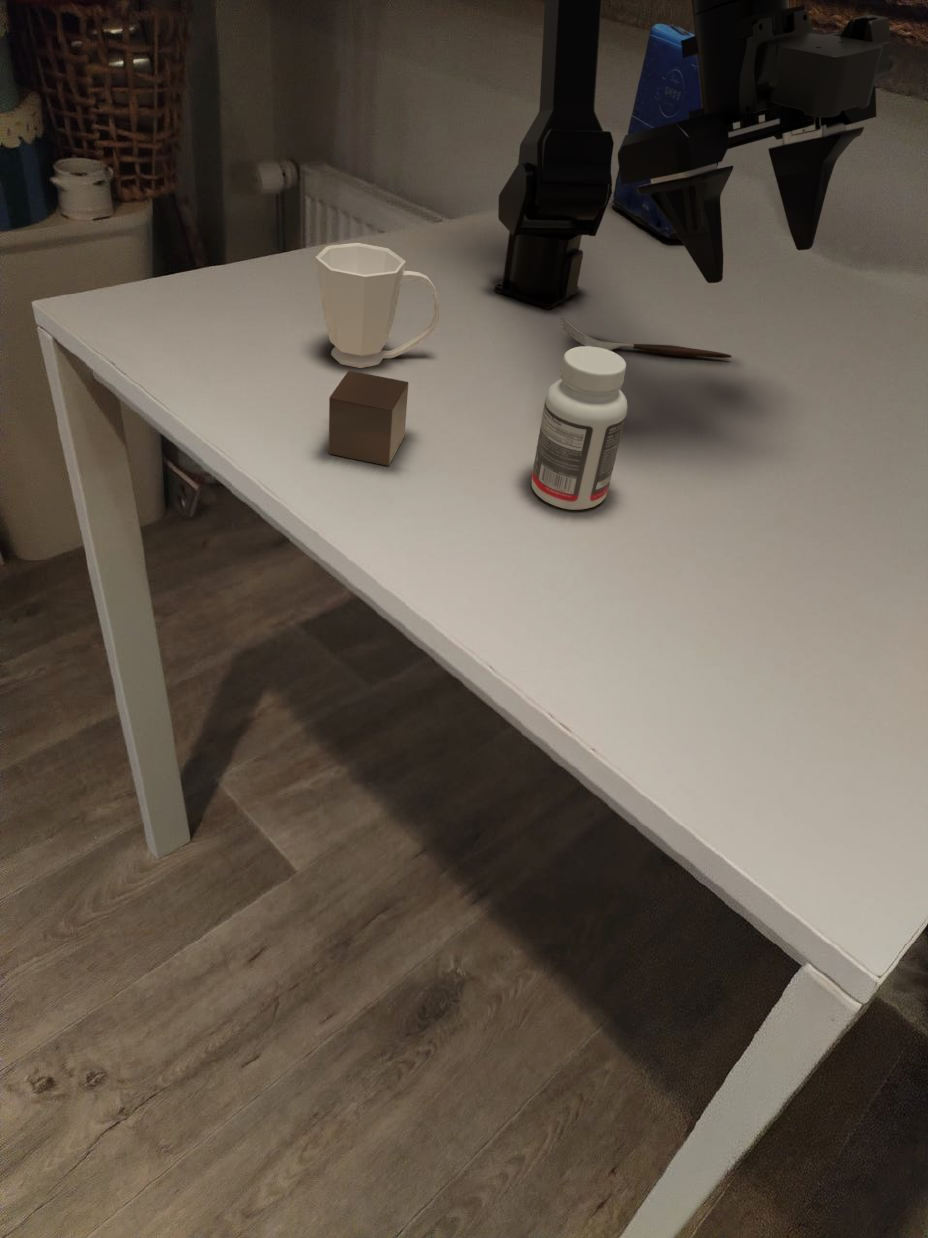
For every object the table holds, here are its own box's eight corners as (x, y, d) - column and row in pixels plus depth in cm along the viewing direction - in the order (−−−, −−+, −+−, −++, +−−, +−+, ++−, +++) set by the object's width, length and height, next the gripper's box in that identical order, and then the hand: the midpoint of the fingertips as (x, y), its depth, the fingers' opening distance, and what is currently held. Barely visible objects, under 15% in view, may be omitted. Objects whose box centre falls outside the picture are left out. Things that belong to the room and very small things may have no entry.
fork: (733, 368, 82) (739, 347, 80) (558, 349, 81) (562, 327, 79) (727, 355, 84) (733, 334, 82) (556, 336, 83) (560, 315, 81)
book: (603, 205, 114) (641, 18, 101) (639, 205, 116) (680, 21, 103) (665, 247, 105) (715, 46, 92) (702, 245, 107) (756, 48, 94)
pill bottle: (585, 466, 66) (614, 338, 60) (619, 507, 62) (653, 376, 56) (517, 473, 64) (540, 342, 58) (548, 516, 61) (575, 382, 54)
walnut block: (328, 454, 63) (328, 397, 61) (347, 424, 67) (348, 369, 64) (388, 466, 63) (392, 409, 60) (404, 436, 66) (408, 381, 64)
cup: (313, 336, 77) (312, 239, 72) (428, 339, 79) (436, 245, 74) (317, 374, 72) (317, 273, 67) (441, 376, 74) (450, 278, 69)
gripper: (737, -19, 46) (763, 296, 53) (953, -56, 54) (952, 223, 60) (594, 39, 55) (632, 302, 62) (797, -1, 63) (811, 237, 69)
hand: (761, 265), depth 63 cm, fingers open, 9 cm apart
